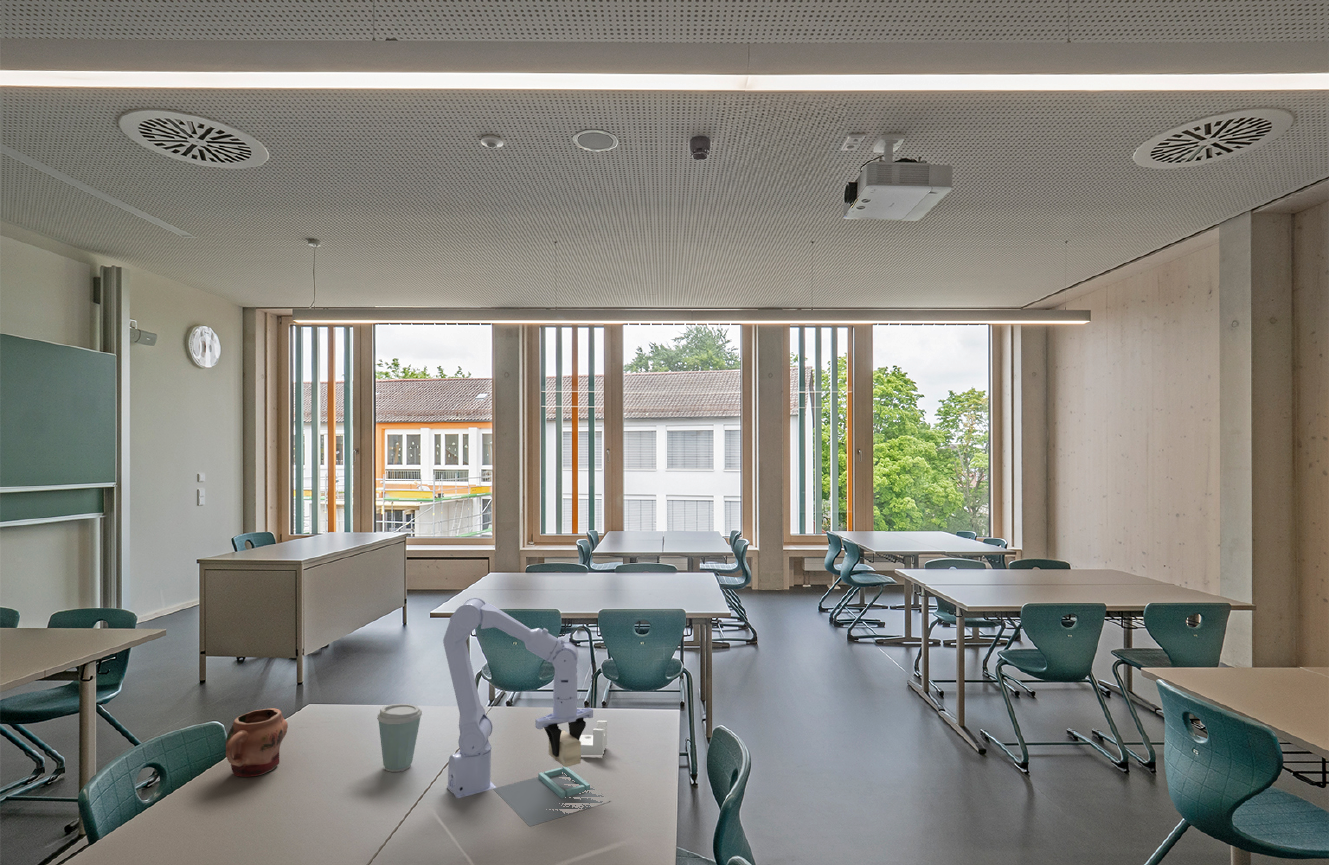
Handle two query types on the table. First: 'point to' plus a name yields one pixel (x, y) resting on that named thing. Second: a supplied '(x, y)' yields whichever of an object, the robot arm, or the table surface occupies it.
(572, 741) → the birch block
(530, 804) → the rubber mat
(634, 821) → the table surface
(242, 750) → the decorative planter
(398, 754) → the disposable coffee cup
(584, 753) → the bracket
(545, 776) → the teal frame
